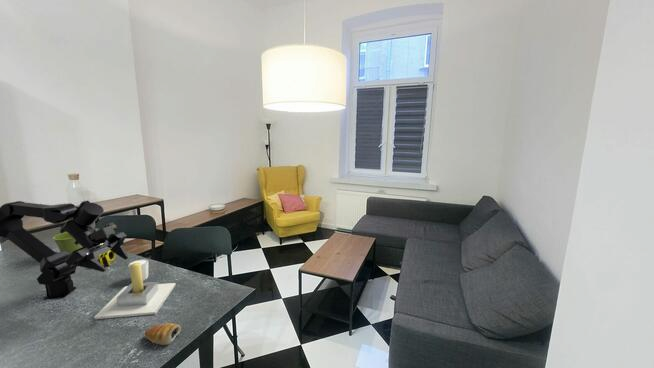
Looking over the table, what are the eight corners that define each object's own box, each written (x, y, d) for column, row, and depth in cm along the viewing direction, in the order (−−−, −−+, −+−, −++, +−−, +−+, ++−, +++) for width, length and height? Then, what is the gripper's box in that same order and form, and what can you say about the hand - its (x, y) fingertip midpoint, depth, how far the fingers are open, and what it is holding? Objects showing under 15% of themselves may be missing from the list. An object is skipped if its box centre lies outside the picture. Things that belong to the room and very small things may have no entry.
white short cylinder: (139, 284, 107) (138, 267, 105) (125, 281, 108) (123, 265, 107) (153, 275, 113) (152, 260, 112) (140, 273, 114) (138, 258, 113)
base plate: (94, 319, 86) (94, 317, 86) (125, 288, 103) (125, 286, 103) (155, 314, 89) (155, 311, 89) (175, 284, 107) (175, 283, 106)
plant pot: (76, 250, 134) (72, 229, 132) (96, 252, 132) (93, 231, 130) (48, 261, 122) (44, 238, 120) (71, 263, 121) (67, 240, 119)
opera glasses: (103, 261, 126) (99, 251, 125) (116, 257, 128) (113, 248, 127) (96, 270, 118) (92, 260, 116) (111, 266, 120) (107, 256, 118)
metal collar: (117, 307, 91) (116, 297, 90) (131, 292, 100) (130, 283, 99) (146, 304, 93) (146, 295, 92) (158, 290, 101) (157, 281, 101)
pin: (133, 301, 94) (129, 267, 92) (133, 297, 96) (129, 264, 94) (144, 298, 96) (141, 265, 93) (144, 294, 98) (140, 261, 96)
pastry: (138, 343, 77) (137, 332, 76) (155, 327, 83) (154, 316, 83) (169, 347, 76) (168, 335, 75) (183, 330, 83) (183, 319, 82)
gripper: (68, 227, 83) (105, 263, 84) (119, 211, 101) (149, 240, 102) (49, 249, 85) (85, 284, 86) (102, 229, 103) (132, 258, 104)
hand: (116, 264), depth 94 cm, fingers open, 9 cm apart
